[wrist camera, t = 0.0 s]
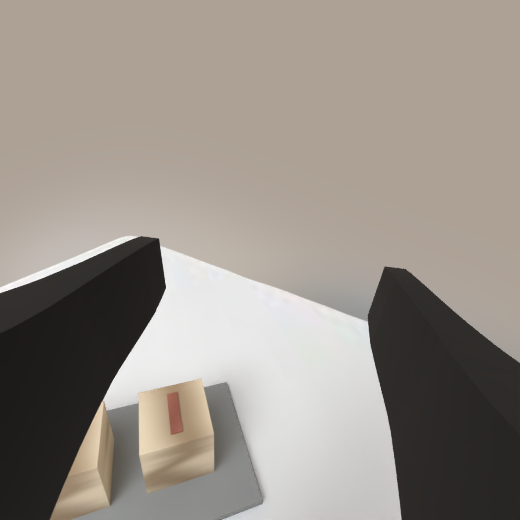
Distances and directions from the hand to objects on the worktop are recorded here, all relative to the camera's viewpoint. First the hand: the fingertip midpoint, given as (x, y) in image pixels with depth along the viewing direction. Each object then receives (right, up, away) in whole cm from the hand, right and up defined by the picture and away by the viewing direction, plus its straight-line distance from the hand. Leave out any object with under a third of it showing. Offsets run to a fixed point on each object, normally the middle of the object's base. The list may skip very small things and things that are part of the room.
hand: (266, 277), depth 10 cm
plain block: (-14, -16, +13) cm, 25 cm away
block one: (-7, -15, +15) cm, 23 cm away
